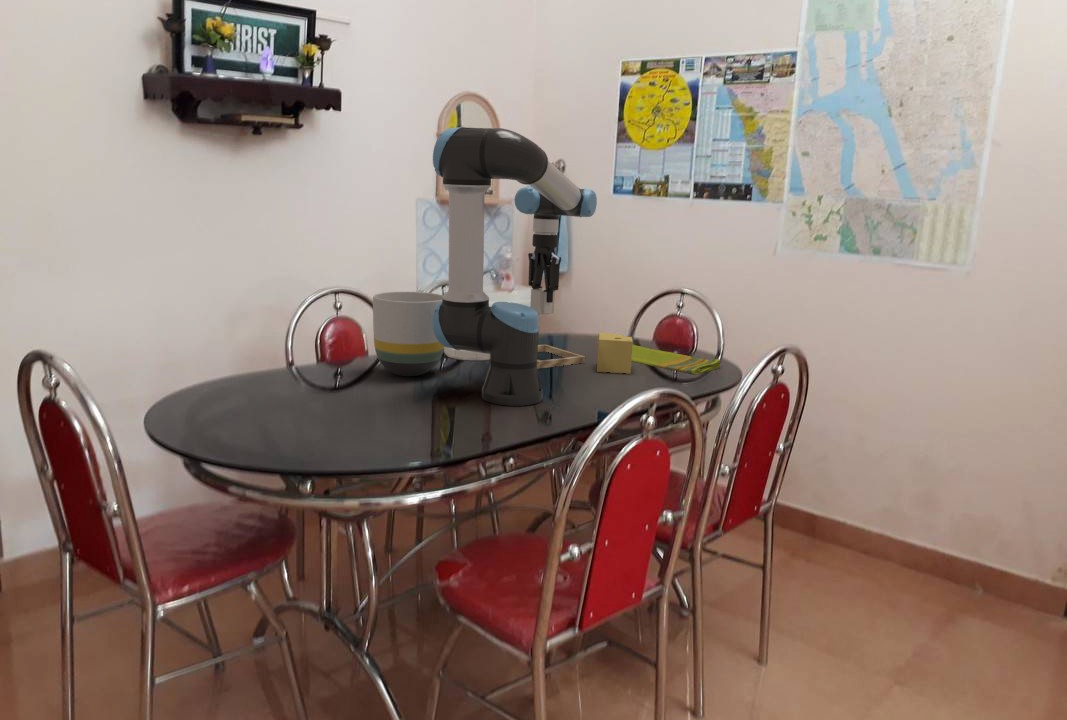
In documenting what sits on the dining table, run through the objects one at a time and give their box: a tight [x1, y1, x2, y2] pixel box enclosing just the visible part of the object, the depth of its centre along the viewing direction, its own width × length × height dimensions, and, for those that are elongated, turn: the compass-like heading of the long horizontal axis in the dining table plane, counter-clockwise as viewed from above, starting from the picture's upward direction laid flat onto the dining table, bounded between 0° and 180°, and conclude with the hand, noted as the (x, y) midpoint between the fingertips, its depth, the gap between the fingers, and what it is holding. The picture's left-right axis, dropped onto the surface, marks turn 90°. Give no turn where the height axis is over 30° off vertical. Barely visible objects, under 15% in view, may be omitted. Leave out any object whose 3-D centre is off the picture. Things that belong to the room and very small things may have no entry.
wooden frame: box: [537, 344, 586, 370], centre depth 254 cm, size 18×20×2 cm
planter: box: [372, 291, 444, 377], centre depth 226 cm, size 20×20×21 cm
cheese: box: [596, 332, 634, 375], centre depth 244 cm, size 10×11×10 cm
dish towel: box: [631, 344, 721, 375], centre depth 259 cm, size 15×36×3 cm, turn 49°
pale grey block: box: [529, 288, 556, 316], centre depth 251 cm, size 6×4×7 cm
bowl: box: [443, 347, 490, 362], centre depth 256 cm, size 16×16×3 cm
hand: (541, 311), depth 251 cm, fingers closed on pale grey block, 4 cm apart
